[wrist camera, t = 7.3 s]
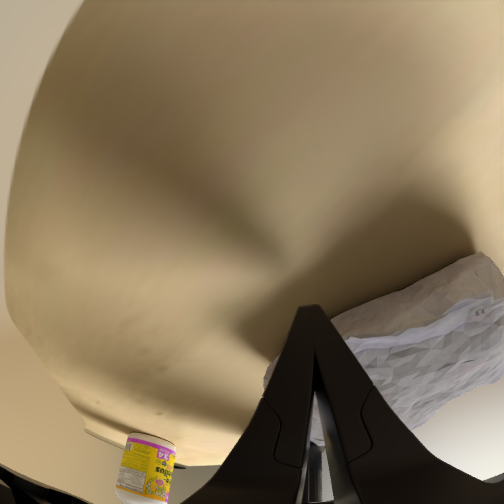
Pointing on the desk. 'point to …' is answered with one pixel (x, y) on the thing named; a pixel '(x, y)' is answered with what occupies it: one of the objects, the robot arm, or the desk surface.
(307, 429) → the robot arm
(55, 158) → the desk surface
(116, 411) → the desk surface
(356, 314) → the stone block
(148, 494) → the supplement bottle
